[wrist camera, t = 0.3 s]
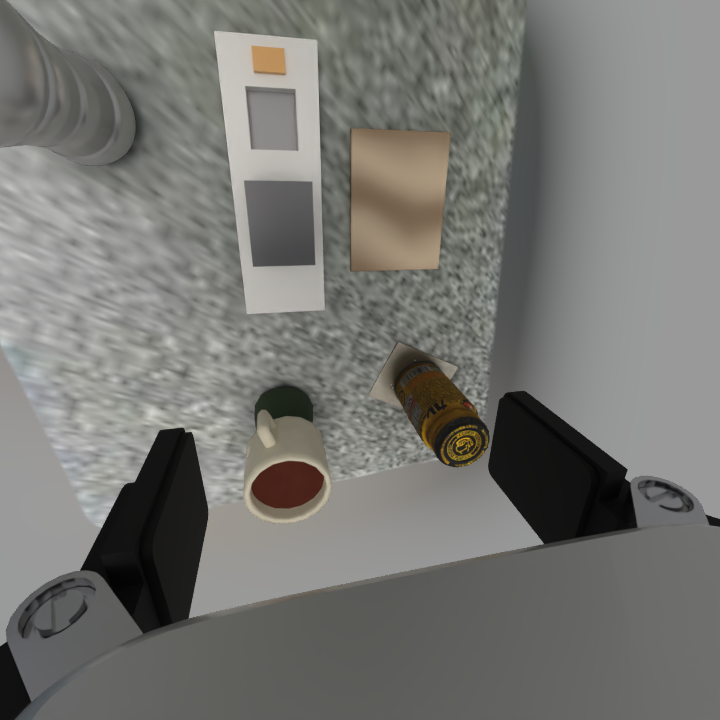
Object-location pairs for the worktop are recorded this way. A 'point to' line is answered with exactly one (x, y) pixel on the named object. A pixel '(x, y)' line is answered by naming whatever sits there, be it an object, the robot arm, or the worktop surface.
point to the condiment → (433, 405)
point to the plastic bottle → (59, 98)
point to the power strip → (273, 151)
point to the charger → (280, 222)
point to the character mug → (285, 460)
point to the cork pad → (396, 198)
